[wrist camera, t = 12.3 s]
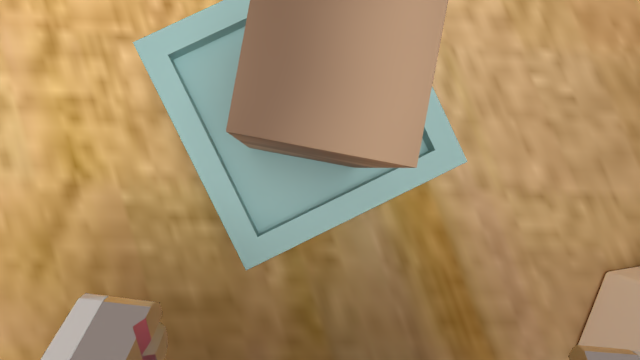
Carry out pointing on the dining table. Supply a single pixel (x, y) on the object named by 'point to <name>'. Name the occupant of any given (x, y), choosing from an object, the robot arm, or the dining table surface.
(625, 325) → the jar
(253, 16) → the walnut block
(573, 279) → the dining table surface
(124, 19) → the dining table surface
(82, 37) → the dining table surface
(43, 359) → the robot arm
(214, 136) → the teal box
